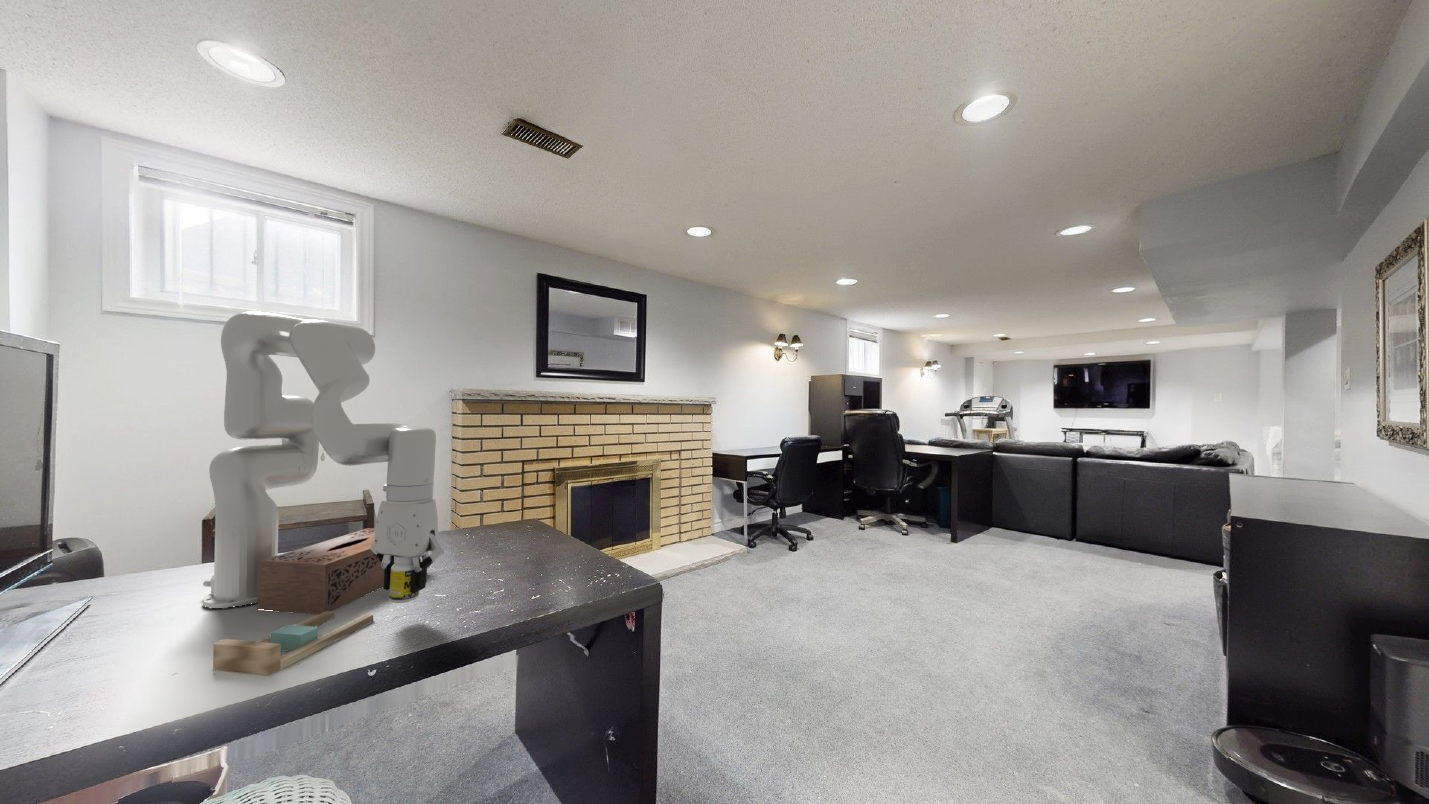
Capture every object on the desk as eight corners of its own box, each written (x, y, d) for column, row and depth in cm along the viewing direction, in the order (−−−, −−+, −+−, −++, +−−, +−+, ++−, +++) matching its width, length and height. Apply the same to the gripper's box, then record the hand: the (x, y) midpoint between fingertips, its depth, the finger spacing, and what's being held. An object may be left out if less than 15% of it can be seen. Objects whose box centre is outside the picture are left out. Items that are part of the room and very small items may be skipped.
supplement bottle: (404, 605, 88) (406, 559, 87) (382, 601, 88) (385, 556, 88) (425, 595, 92) (427, 551, 92) (404, 591, 93) (406, 548, 93)
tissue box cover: (366, 568, 120) (367, 528, 120) (419, 571, 118) (420, 530, 118) (257, 612, 94) (258, 561, 94) (323, 616, 93) (325, 564, 93)
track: (212, 669, 73) (213, 643, 73) (326, 617, 92) (327, 596, 92) (269, 675, 72) (270, 649, 72) (373, 621, 90) (373, 599, 90)
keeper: (270, 649, 80) (270, 632, 80) (288, 640, 83) (288, 624, 83) (300, 652, 79) (301, 635, 79) (318, 643, 82) (318, 627, 82)
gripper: (352, 492, 88) (347, 591, 88) (437, 500, 85) (431, 602, 85) (385, 485, 95) (380, 577, 95) (464, 492, 93) (459, 586, 93)
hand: (404, 587), depth 90 cm, fingers closed on supplement bottle, 4 cm apart
